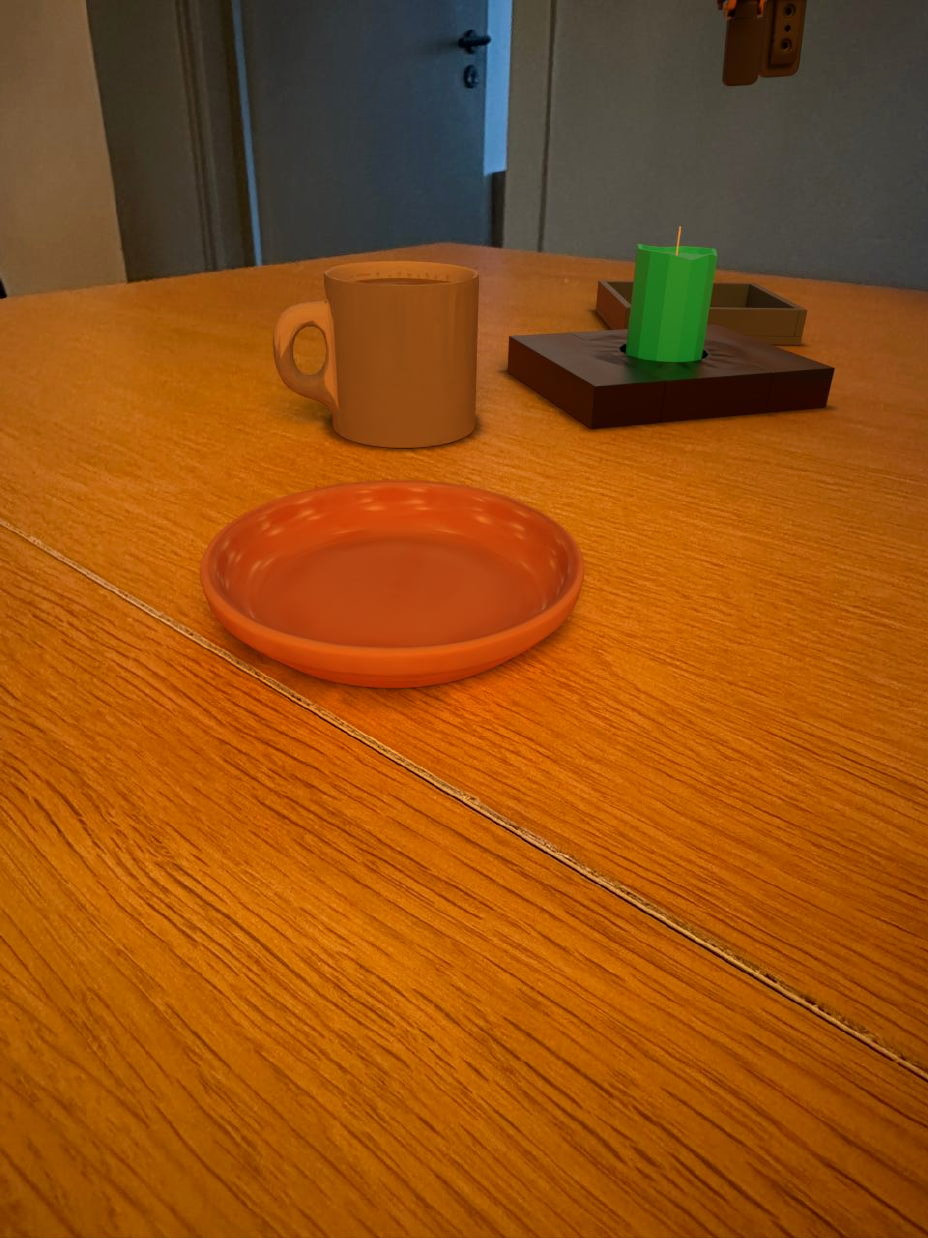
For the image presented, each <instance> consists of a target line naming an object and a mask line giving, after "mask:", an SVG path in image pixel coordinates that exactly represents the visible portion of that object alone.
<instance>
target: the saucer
mask: <svg viewBox="0 0 928 1238" xmlns="http://www.w3.org/2000/svg"><path fill="white" fill-rule="evenodd" d="M200 560H201V561H200V567H199V580H200V585H201V588H202V591H203V593H204V596H205V599H206V601H207V604H208V606H209V609H210V611H211V613H212V614H213V616H214V617H215V619H216V620H217V621H218V622H219V623H220V625H222V627H224V629H225V630H227V632H228V633H230V634H231V635H232V636H234V637H235V638H237V639H238V640H239V641H241V642H242V643H244V644H245V645H247V646H249V647H251V648H252V649H254V650H255V651H257V652H258V653H260V654H262V655H264V656H266V657H268V658H269V659H271V660H274V661H276V662H278V663H281V664H282V665H285V666H287V667H289V668H291V669H293V670H295V671H298V672H300V673H303V674H305V675H308V676H311V677H313V678H317V679H319V680H320V679H321V680H324V681H328V682H332V683H336V684H342V685H347V686H353V687H354V686H355V687H362V688H372V689H373V688H375V689H412V688H421V687H429V686H436V685H443V684H447V683H452V682H456V681H461V680H464V679H468V678H471V677H475V676H478V675H480V674H483V673H485V672H487V671H489V670H492V669H494V668H497V667H498V666H500V665H502V664H504V663H506V662H508V661H509V660H511V659H513V658H516V657H518V656H520V655H521V654H523V653H525V652H526V651H528V650H530V649H531V648H533V647H535V646H536V645H538V644H539V643H540V642H541V641H543V640H544V639H546V638H548V636H549V635H551V634H552V633H554V632H555V631H556V630H558V628H559V627H561V626H562V624H563V623H564V622H565V621H566V620H567V619H568V617H570V615H571V613H572V612H573V611H574V609H575V607H576V606H577V603H578V600H579V598H580V594H581V592H582V587H583V584H584V578H585V571H586V570H585V560H584V556H583V553H582V550H581V548H580V546H579V544H578V543H577V541H576V540H575V538H574V537H573V535H572V534H571V533H570V532H569V531H568V530H567V529H566V528H565V527H564V526H563V525H562V524H560V523H559V522H558V521H556V520H555V518H552V517H551V516H549V515H548V514H546V513H544V512H543V511H541V510H539V509H537V508H536V507H533V506H532V505H530V504H529V503H528V504H527V503H525V502H523V501H521V500H518V499H515V498H513V497H510V496H507V495H505V494H502V493H498V492H494V491H491V490H488V489H483V488H479V487H475V486H470V485H465V484H458V483H452V482H445V481H436V480H435V481H434V480H421V479H374V480H373V479H372V480H361V481H349V482H342V483H335V484H329V485H324V486H319V487H314V488H310V489H305V490H301V491H298V492H294V493H291V494H288V495H284V496H281V497H278V498H276V499H273V500H270V501H267V502H265V503H263V504H261V505H258V506H256V507H255V508H252V509H251V510H249V511H247V512H245V513H243V514H241V515H240V516H238V517H237V518H235V519H234V520H232V521H231V522H229V523H228V524H227V525H225V526H224V527H223V528H222V529H221V530H219V531H218V533H217V534H215V536H214V537H213V538H212V539H211V541H209V543H208V545H207V547H206V548H205V550H204V552H203V555H202V557H201V559H200Z"/></svg>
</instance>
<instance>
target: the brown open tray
mask: <svg viewBox="0 0 928 1238" xmlns="http://www.w3.org/2000/svg"><path fill="white" fill-rule="evenodd" d="M633 282H634V280H607V279H606V280H603V279H599V280H598V281H597V290H596V291H597V292H596V301H595V302H596V303H595V312H596V314H597V316H599V317H600V318H601V319H602V321H603V322H604V323H605V324H606V325H607V327H608V328H609V330H622V329H628V326H629V317H630V308H631V299H632V290H633ZM807 315H808V310H807V309H806V308H804V307H802V306H800V305H798V304H796V303H795V302H793V301H790V300H789V299H787V298H784V297H783V296H781V295H779V294H777V293H775V292H773V291H771V290H770V289H767V288H766V287H764V286H761V285H759V284H758V283H756V282H738V281H737V282H736V281H735V282H733V281H732V282H730V281H714V282H713V289H712V295H711V301H710V308H709V314H708V320H707V325H712V324H716V325H718V326H721V327H724V328H727V329H729V330H732V331H735V332H738V333H740V334H743V335H746V336H749V337H751V338H754V339H757V340H759V341H762V342H765V343H768V344H770V345H773V346H800V345H801V344H802V337H803V333H804V329H805V324H806V319H807Z"/></svg>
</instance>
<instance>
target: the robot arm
mask: <svg viewBox="0 0 928 1238" xmlns="http://www.w3.org/2000/svg"><path fill="white" fill-rule="evenodd" d="M716 4H717V9H718V11H722V13H723V18H724V19H726V25H725V26H726V27H725V38H724V52H723V63H722V64H723V65H722V74H721V75H722V76H721V80H722V83H723V85H724V86H725V87H742V86H743V87H745V86H752V85H754V84H755V83H756V82H757V80H758V79H759V77H760V78H762V79H769V78H770V79H771V78H786V77H791V76H794V75H795V74H797V72H798V71H799V68H800V63H801V55H802V54H801V53H802V46H803V39H804V38H803V37H804V29H805V20H806V12H807V4H808V0H716Z"/></svg>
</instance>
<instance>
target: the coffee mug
mask: <svg viewBox="0 0 928 1238" xmlns="http://www.w3.org/2000/svg"><path fill="white" fill-rule="evenodd" d="M323 286H324V299H320V300H316V301H308V302H301V303H297V304H293V305H291V306H289V307H288V308H285V310H284V311H283V312H281V314H280V316H279V317H278V318H277V320H276V322H275V325H274V329H273V335H272V352H273V353H272V354H273V359H274V364H275V367H276V371H277V373H278V375H279V378H280V379H281V381H282V383H283V384H284V385H285V386H286V387H287V388H288V390H290V391H292V392H293V393H295V394H297V395H299V396H301V397H304V398H307V399H310V400H313V401H316V402H319V403H321V404H322V405H324V406H325V407H326V408H327V409H328V411H329V412H330V414H331V416H332V417H331V418H332V429H333V430H334V432H335V433H336V434H337V435H339V436H340V437H341V438H343V439H346V440H348V441H350V442H354V443H357V444H360V445H361V444H362V445H367V446H372V447H379V448H391V449H418V448H428V447H437V446H441V445H446V444H449V443H454V442H457V441H460V440H462V439H465V438H466V437H468V436H469V435H470V434H472V433H473V432H474V430H475V428H476V410H477V408H476V407H477V376H478V375H477V371H478V368H477V367H478V366H477V365H478V334H479V333H478V331H479V301H480V300H479V299H480V298H479V296H480V275H479V272H477V271H476V270H475V269H473V268H469V267H466V266H462V265H457V264H452V263H443V262H433V261H420V260H419V261H416V260H415V261H414V260H379V261H378V260H376V261H361V262H351V263H344V264H339V265H335V266H332V267H329V268H327V269H325V270H324V272H323ZM308 327H309V328H313V327H314V328H316V329H318V330H319V331H320V333H322V336H323V339H324V344H325V356H324V362H323V364H322V366H321V369H320V370H318V371H317V372H316V373H313V374H305V373H303V372H302V371H301V370H300V369H299V368H298V365H297V364H296V361H295V358H294V344H295V341H296V337H297V335H298V334H299V333H300V331H301V330H303V329H305V328H308Z"/></svg>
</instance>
